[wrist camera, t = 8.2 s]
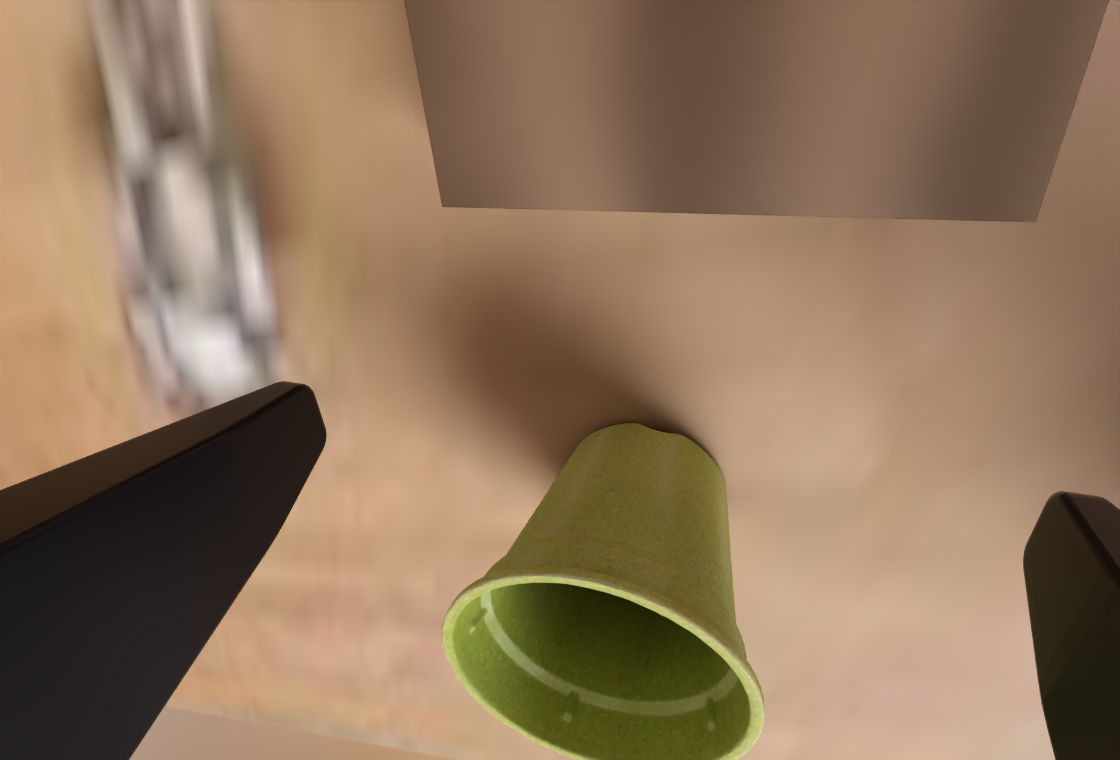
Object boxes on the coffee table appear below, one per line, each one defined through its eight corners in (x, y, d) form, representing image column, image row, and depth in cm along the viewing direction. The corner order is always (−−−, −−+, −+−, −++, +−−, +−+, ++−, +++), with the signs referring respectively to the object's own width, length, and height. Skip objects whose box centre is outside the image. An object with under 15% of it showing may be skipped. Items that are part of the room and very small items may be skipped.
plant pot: (825, 526, 24) (833, 764, 18) (627, 589, 30) (575, 790, 23) (674, 339, 22) (616, 533, 15) (487, 444, 27) (381, 622, 20)
